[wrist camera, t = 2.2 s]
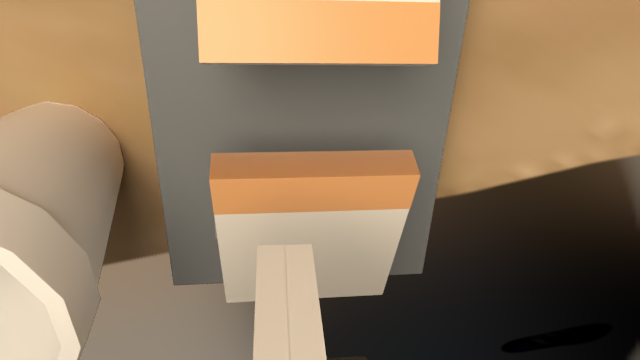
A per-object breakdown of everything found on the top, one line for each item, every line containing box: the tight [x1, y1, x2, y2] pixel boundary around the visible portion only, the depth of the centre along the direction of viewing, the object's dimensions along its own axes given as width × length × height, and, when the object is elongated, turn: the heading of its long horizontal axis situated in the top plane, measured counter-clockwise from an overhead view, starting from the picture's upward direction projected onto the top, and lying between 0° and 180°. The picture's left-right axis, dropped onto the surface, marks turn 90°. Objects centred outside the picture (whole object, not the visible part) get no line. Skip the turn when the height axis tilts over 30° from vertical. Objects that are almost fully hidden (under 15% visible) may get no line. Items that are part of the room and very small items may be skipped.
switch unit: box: [134, 0, 470, 285], centre depth 23 cm, size 14×23×6 cm, turn 178°
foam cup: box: [0, 101, 124, 360], centre depth 21 cm, size 10×9×13 cm
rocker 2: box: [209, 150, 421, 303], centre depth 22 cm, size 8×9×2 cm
